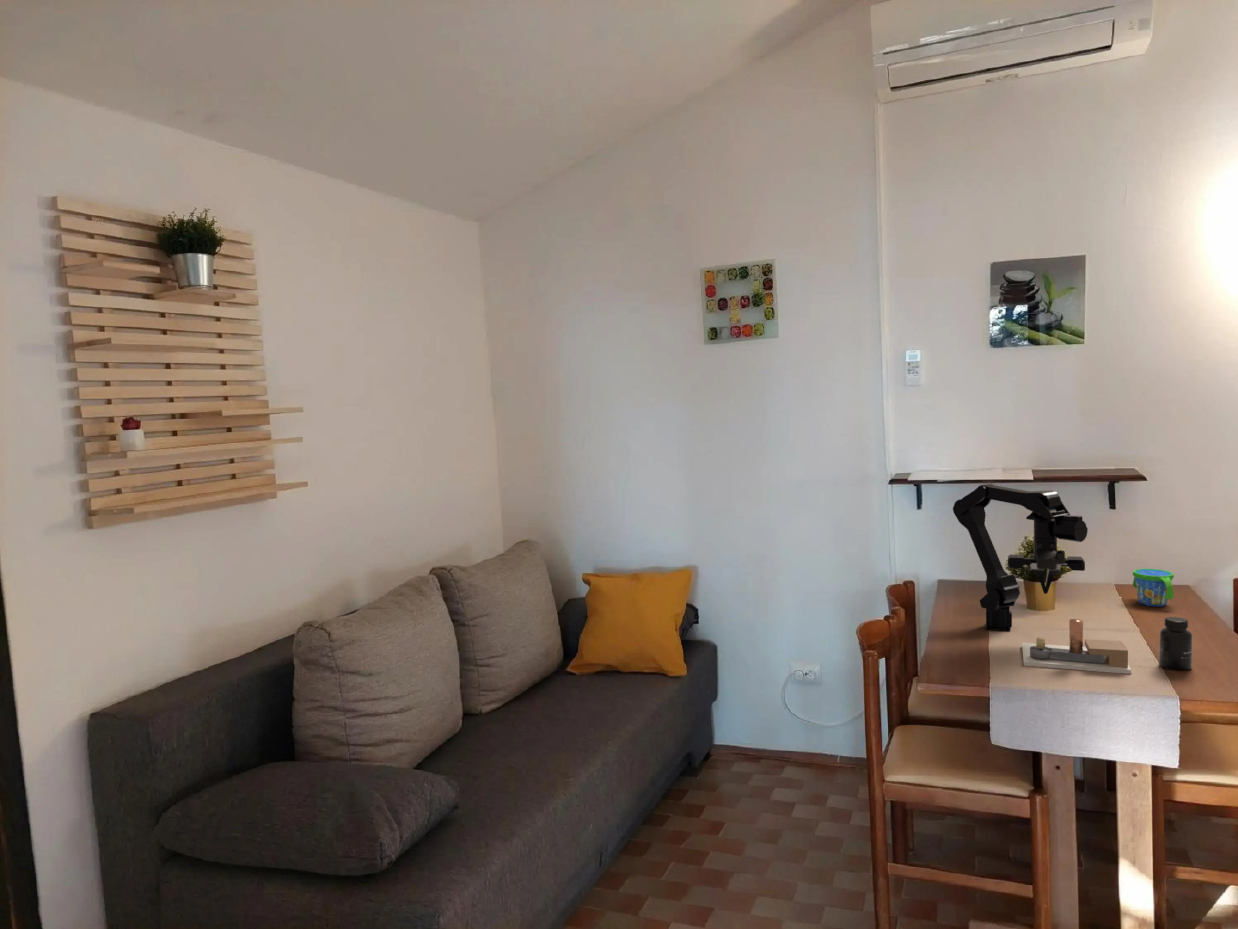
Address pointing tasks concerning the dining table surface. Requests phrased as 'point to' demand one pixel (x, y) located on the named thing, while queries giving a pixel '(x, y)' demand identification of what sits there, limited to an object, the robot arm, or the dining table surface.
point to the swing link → (1074, 649)
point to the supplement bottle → (1175, 645)
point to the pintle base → (1113, 662)
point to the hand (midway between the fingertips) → (1045, 593)
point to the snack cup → (1153, 586)
